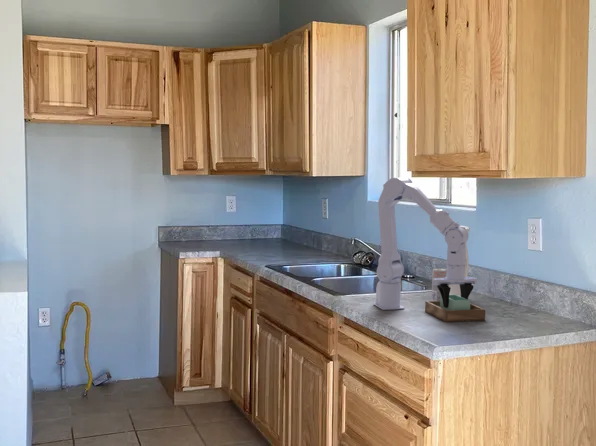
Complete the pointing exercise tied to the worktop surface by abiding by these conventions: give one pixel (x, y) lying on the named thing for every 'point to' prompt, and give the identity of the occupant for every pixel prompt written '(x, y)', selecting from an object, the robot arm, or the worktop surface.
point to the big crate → (455, 313)
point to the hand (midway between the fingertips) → (454, 306)
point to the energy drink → (435, 291)
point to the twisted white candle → (456, 287)
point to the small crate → (456, 303)
